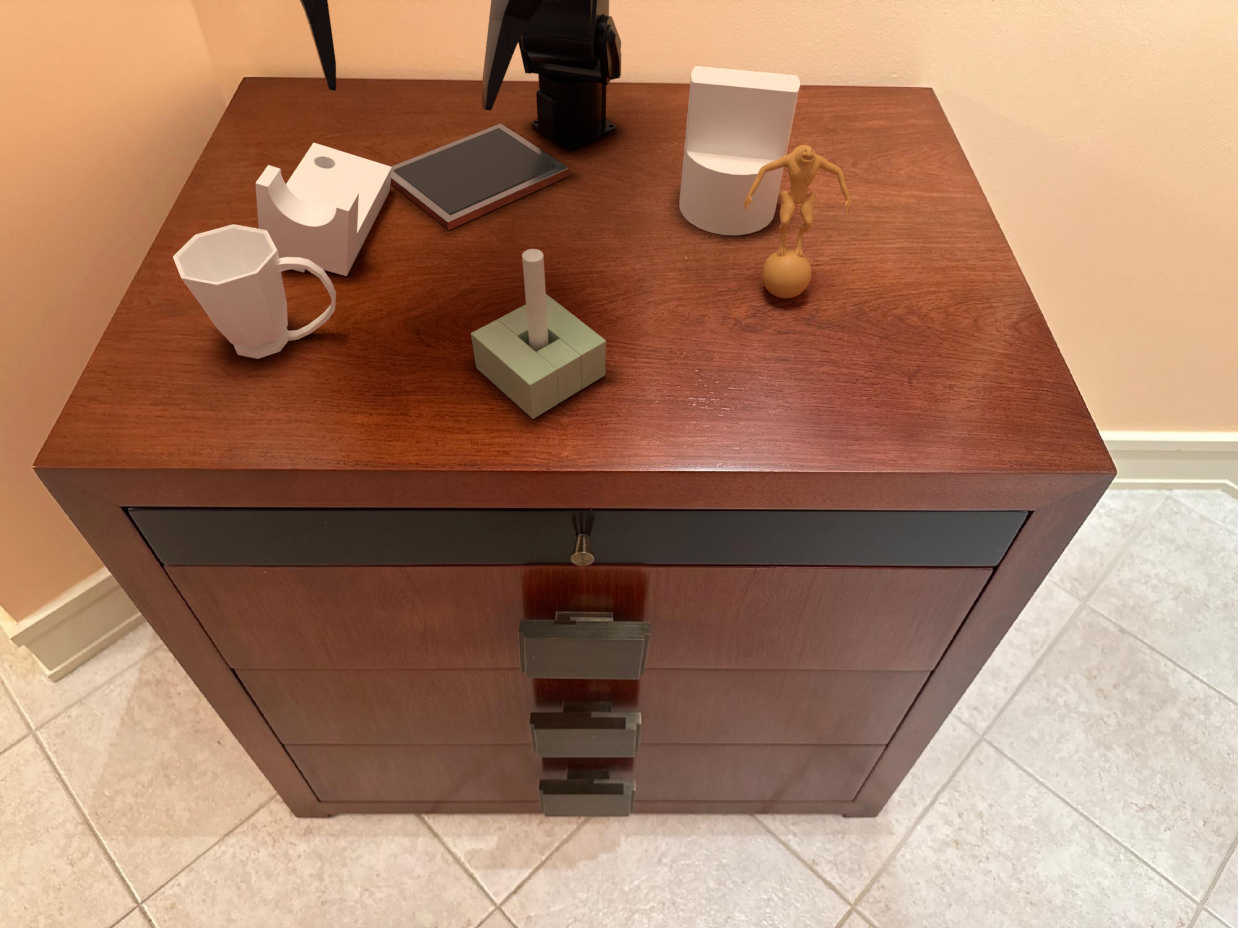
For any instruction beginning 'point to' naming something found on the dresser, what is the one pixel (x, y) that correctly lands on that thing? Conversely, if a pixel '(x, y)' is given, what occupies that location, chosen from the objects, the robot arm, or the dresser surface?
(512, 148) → the tablet
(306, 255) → the bracket
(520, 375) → the pen stand
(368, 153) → the dresser surface
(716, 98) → the cylinder with rectangular tab
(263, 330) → the cup
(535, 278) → the stylus
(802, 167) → the figurine
